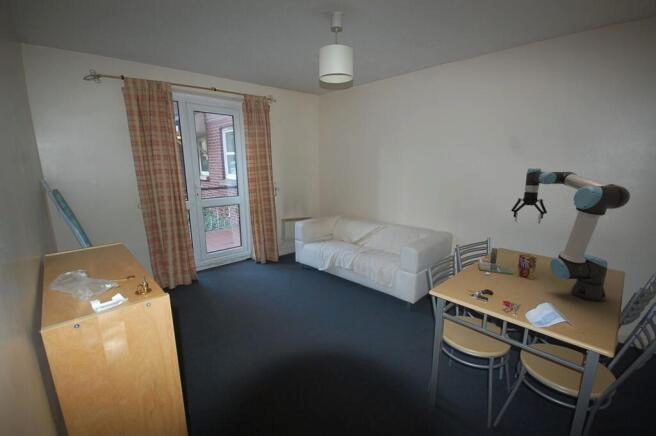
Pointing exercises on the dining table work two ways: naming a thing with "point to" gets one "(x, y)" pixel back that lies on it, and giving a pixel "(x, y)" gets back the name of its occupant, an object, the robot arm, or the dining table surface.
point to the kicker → (493, 259)
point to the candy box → (526, 265)
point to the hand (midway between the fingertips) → (527, 222)
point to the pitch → (499, 269)
